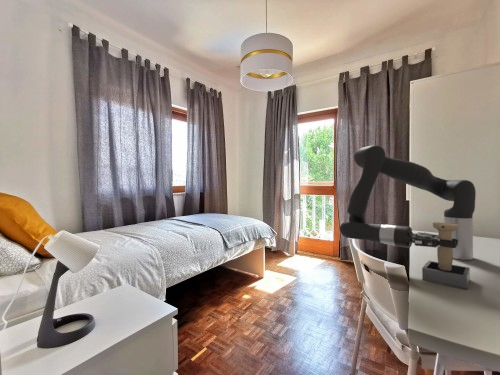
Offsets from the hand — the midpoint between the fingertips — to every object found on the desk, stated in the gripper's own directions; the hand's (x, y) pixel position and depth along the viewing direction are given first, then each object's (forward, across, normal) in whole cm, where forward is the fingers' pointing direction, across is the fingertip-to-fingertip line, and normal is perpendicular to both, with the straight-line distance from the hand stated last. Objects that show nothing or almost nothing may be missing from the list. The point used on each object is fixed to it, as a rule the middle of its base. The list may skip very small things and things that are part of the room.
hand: (456, 243), depth 75 cm
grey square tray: (-3, 0, +12) cm, 13 cm away
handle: (-3, 0, +9) cm, 10 cm away
